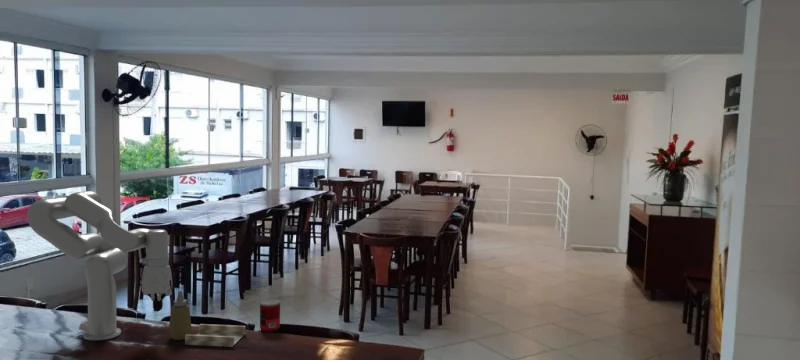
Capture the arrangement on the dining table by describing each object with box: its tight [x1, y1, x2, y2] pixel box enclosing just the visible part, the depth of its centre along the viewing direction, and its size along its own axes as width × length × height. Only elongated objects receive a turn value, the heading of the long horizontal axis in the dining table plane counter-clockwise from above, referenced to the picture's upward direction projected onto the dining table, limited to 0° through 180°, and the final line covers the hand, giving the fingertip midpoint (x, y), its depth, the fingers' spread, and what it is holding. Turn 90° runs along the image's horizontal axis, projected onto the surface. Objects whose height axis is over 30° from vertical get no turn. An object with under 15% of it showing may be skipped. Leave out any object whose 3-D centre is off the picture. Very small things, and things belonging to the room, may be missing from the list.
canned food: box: [259, 298, 281, 333], centre depth 220 cm, size 8×8×11 cm
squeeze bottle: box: [168, 290, 192, 341], centre depth 207 cm, size 8×8×18 cm
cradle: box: [184, 323, 247, 348], centre depth 206 cm, size 18×13×4 cm
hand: (157, 310), depth 207 cm, fingers closed
